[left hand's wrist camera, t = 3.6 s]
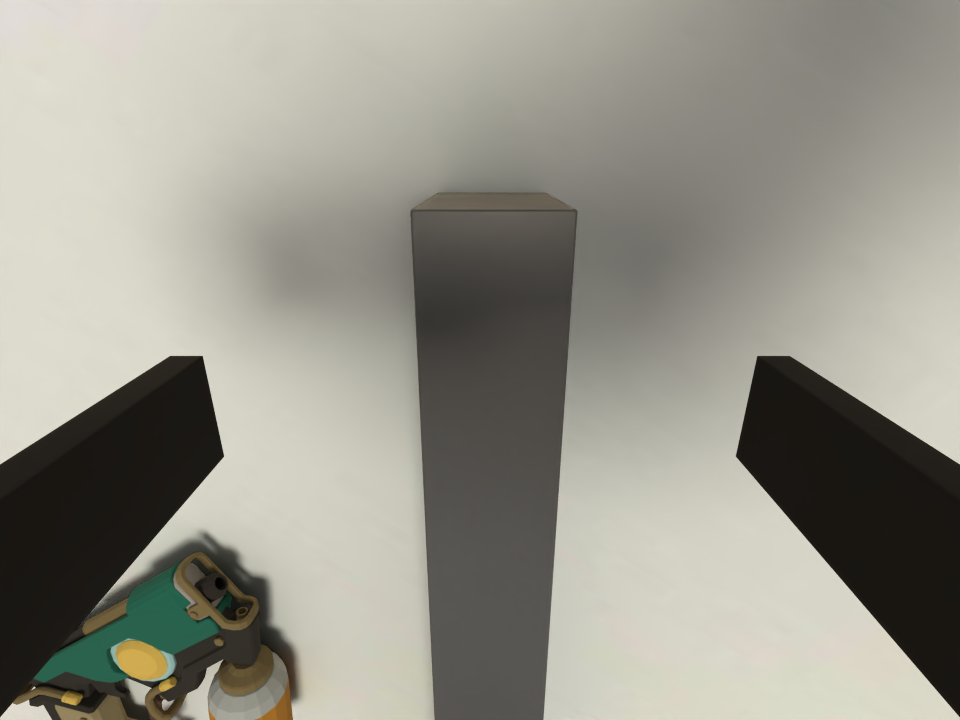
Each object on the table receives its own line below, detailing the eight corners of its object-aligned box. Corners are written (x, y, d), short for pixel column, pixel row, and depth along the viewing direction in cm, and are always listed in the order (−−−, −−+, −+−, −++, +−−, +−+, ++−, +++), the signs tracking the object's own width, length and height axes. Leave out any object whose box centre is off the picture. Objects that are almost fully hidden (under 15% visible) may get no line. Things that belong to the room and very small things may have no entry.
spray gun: (126, 746, 35) (-2, 577, 30) (347, 717, 32) (242, 524, 27) (75, 820, 31) (-82, 639, 26) (322, 795, 28) (194, 584, 23)
